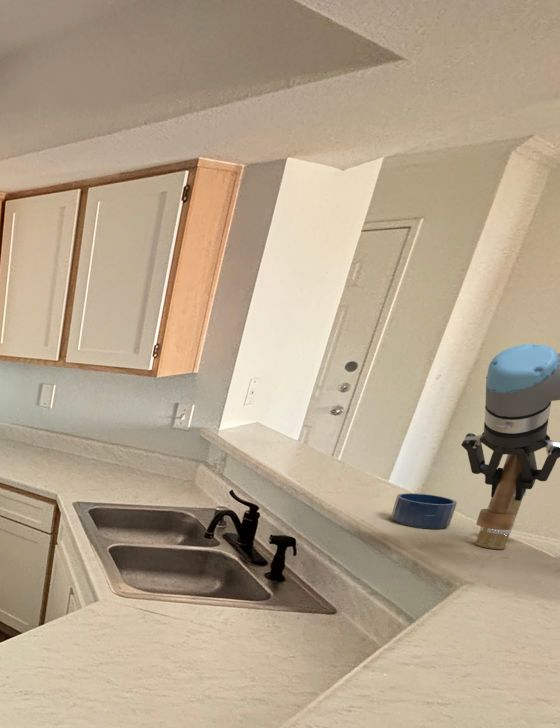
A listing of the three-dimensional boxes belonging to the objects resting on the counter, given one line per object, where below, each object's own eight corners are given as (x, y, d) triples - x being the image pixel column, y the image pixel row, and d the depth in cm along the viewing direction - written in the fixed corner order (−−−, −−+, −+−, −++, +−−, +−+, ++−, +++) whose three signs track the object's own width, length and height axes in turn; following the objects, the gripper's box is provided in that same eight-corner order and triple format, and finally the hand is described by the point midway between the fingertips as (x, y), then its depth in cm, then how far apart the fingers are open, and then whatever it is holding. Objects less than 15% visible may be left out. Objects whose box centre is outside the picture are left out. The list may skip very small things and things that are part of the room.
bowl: (450, 522, 140) (458, 498, 138) (446, 532, 133) (455, 507, 131) (393, 514, 147) (400, 491, 145) (387, 523, 140) (394, 499, 138)
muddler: (511, 525, 117) (543, 433, 111) (510, 531, 114) (544, 437, 108) (476, 521, 121) (506, 431, 115) (475, 526, 118) (505, 434, 112)
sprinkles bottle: (493, 551, 122) (516, 488, 118) (468, 543, 126) (489, 483, 122) (511, 548, 123) (534, 486, 118) (485, 541, 127) (506, 481, 123)
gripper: (446, 431, 109) (446, 500, 123) (575, 440, 97) (560, 517, 111) (463, 399, 110) (461, 472, 124) (593, 405, 98) (576, 485, 112)
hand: (508, 493), depth 117 cm, fingers closed on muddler, 3 cm apart
